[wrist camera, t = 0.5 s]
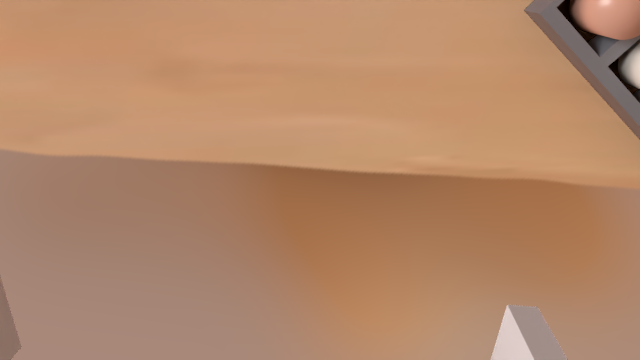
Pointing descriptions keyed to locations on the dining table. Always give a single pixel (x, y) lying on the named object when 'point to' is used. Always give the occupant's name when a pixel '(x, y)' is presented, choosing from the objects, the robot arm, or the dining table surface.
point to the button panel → (590, 59)
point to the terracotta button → (607, 17)
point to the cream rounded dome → (630, 65)
